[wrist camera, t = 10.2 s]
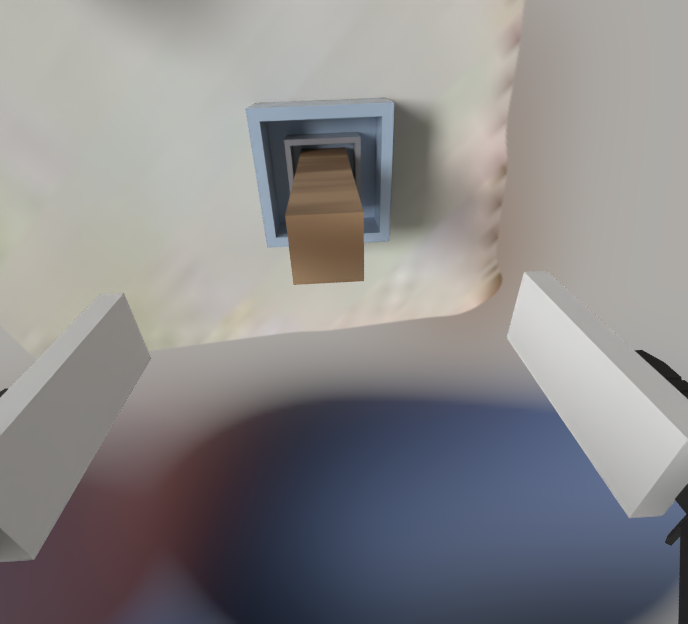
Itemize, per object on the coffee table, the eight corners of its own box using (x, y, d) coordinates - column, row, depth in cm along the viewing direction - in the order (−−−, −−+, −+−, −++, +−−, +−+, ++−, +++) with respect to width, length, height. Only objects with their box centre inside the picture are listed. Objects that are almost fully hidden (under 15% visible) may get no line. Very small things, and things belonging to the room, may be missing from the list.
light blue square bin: (255, 103, 29) (245, 108, 25) (384, 97, 29) (394, 102, 25) (273, 227, 34) (267, 247, 30) (381, 222, 34) (389, 241, 31)
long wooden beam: (301, 149, 30) (285, 215, 17) (344, 147, 30) (363, 212, 17) (305, 193, 32) (293, 284, 18) (346, 191, 32) (364, 280, 19)
